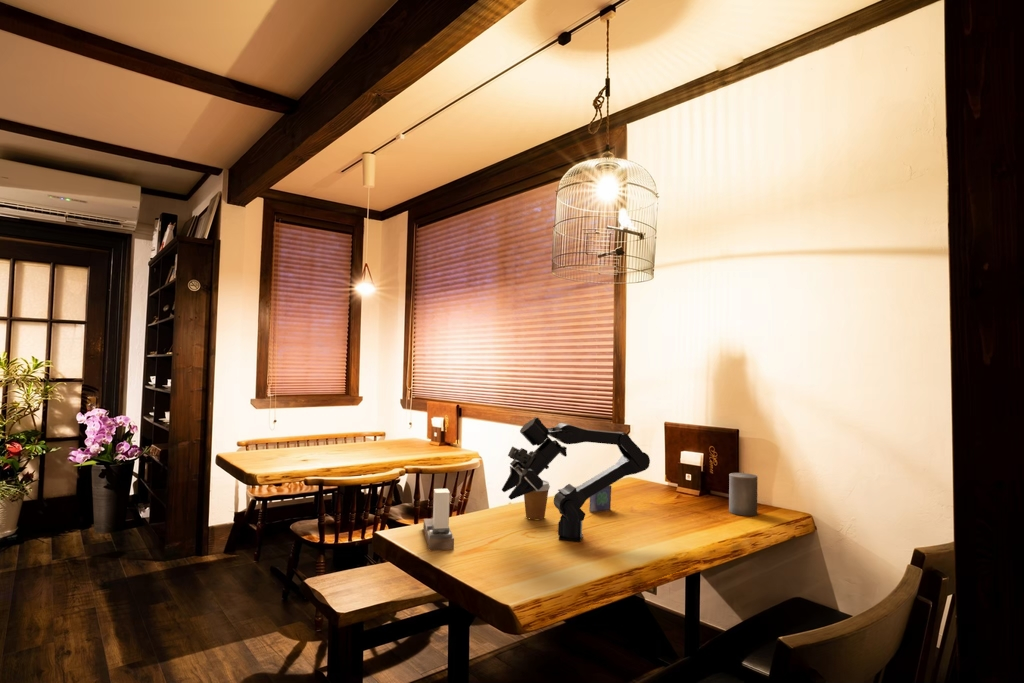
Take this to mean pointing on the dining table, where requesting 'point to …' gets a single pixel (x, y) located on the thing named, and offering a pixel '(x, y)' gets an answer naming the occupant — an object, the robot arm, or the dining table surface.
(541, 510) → the disposable coffee cup
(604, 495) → the flask
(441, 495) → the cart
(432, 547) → the dock
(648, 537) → the dining table surface
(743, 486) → the pillar candle
